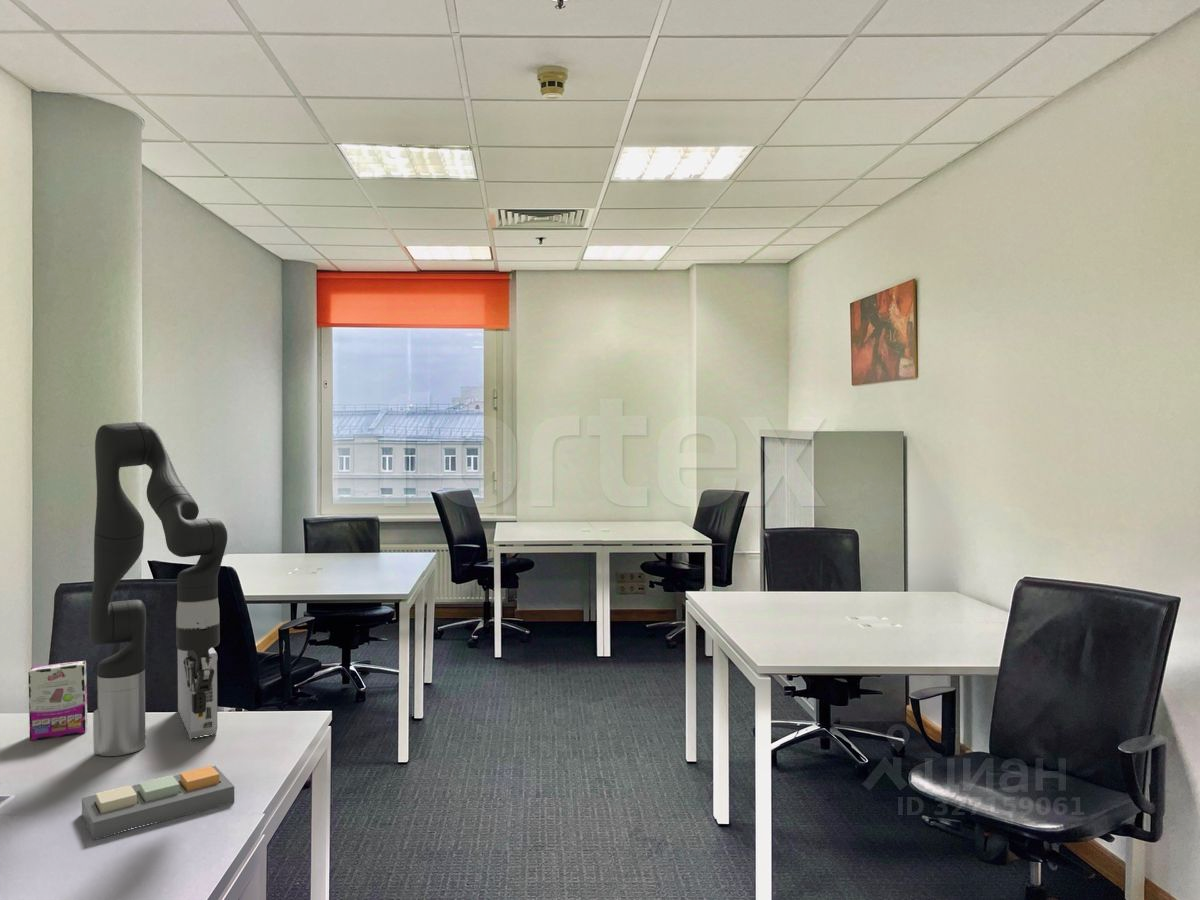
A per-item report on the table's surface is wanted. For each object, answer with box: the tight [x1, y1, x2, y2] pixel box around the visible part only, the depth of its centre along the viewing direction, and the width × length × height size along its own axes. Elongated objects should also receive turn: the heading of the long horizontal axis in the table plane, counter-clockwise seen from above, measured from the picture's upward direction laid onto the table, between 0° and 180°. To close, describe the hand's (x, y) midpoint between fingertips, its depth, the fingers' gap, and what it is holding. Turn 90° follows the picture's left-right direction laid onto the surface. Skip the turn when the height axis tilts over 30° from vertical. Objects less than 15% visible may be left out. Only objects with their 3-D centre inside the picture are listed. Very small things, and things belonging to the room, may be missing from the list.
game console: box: [177, 647, 218, 738], centre depth 198 cm, size 6×27×20 cm, turn 33°
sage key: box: [139, 774, 179, 802], centre depth 151 cm, size 6×6×2 cm
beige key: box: [95, 784, 137, 813], centre depth 147 cm, size 6×6×2 cm
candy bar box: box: [27, 660, 88, 742], centre depth 191 cm, size 11×5×16 cm, turn 117°
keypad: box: [81, 765, 235, 841], centre depth 151 cm, size 23×13×3 cm, turn 130°
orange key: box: [179, 765, 219, 791], centre depth 156 cm, size 6×6×2 cm
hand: (198, 712), depth 156 cm, fingers closed
